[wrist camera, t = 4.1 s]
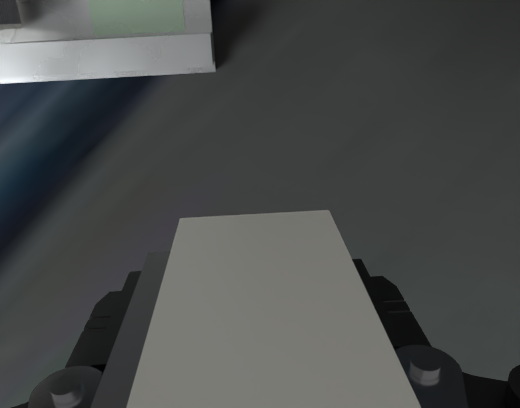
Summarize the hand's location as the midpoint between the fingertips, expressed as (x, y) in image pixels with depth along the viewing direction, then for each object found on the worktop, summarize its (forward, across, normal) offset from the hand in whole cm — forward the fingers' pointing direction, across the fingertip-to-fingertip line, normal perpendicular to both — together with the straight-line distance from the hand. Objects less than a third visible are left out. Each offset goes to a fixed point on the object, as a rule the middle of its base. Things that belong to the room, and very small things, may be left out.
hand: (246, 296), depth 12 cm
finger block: (+1, 0, 0) cm, 1 cm away
